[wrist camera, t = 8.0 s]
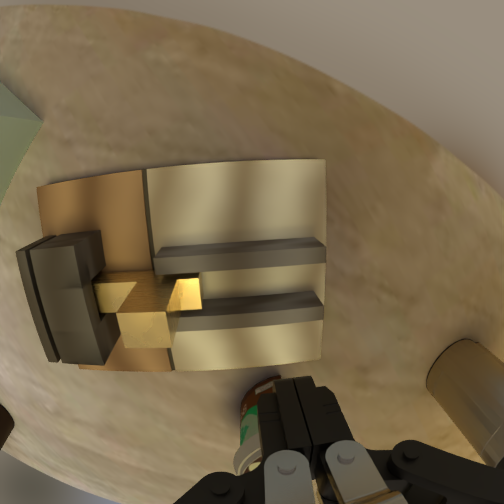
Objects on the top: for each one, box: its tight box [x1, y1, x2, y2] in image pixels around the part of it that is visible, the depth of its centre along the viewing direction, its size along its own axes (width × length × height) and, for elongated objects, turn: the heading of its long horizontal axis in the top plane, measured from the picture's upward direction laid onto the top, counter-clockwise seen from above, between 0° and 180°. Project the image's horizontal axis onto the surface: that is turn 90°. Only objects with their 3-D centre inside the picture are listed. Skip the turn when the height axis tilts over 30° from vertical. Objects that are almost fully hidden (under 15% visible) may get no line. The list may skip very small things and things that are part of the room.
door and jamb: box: [16, 159, 326, 372], centre depth 23 cm, size 24×18×7 cm
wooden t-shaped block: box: [91, 270, 204, 348], centre depth 20 cm, size 12×2×7 cm, turn 92°
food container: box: [233, 375, 281, 476], centre depth 26 cm, size 12×6×10 cm, turn 9°
